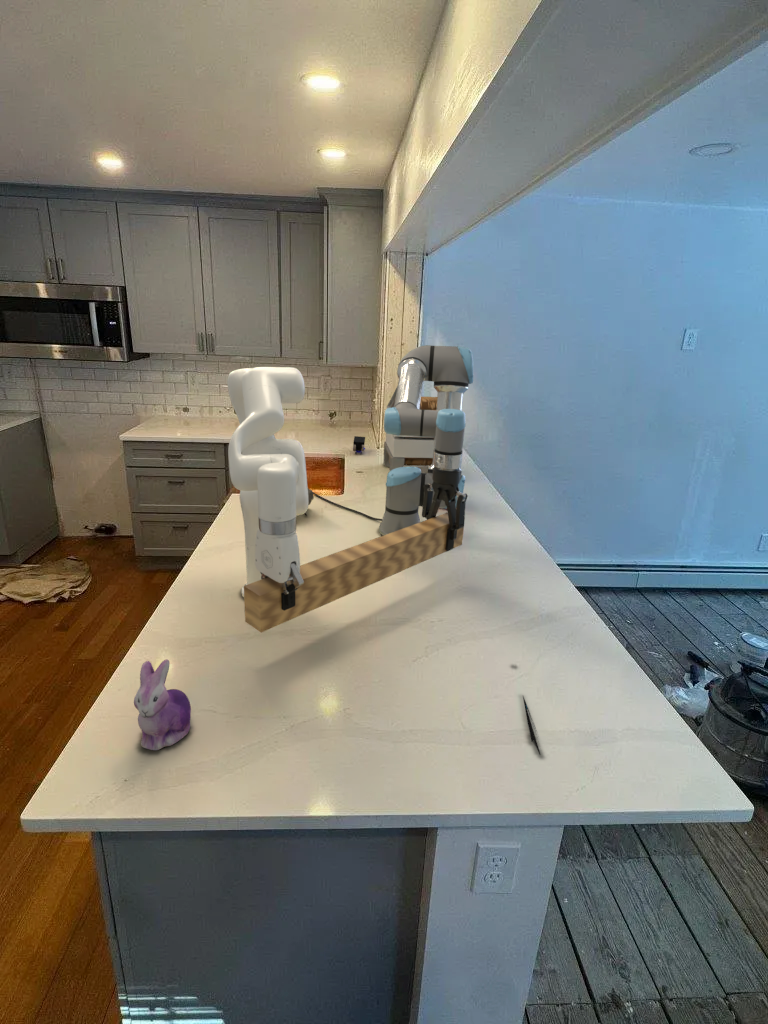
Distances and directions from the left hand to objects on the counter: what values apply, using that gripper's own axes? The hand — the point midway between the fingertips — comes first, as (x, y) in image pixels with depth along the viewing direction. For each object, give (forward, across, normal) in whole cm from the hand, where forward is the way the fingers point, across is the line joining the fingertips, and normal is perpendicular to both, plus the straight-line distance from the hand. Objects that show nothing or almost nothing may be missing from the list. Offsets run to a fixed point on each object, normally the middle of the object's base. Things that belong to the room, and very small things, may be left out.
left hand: (279, 601), depth 122 cm
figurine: (+14, +5, -29) cm, 33 cm away
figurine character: (+17, -127, +147) cm, 195 cm away
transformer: (+16, -79, +142) cm, 163 cm away
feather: (+14, +47, +26) cm, 55 cm away
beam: (+4, 0, +28) cm, 28 cm away
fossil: (+16, -70, +60) cm, 94 cm away
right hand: (+3, 0, +56) cm, 56 cm away
